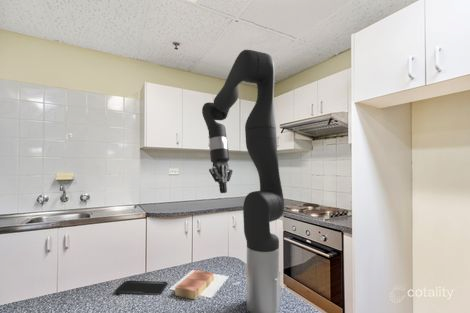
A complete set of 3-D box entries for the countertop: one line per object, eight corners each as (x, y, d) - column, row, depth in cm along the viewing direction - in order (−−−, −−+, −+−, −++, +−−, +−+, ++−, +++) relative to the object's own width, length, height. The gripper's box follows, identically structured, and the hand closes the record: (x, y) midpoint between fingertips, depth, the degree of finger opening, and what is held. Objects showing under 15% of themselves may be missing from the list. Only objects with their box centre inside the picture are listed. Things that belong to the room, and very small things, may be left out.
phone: (125, 280, 84) (168, 281, 83) (125, 283, 83) (168, 285, 83) (113, 292, 76) (160, 294, 75) (112, 296, 76) (160, 297, 75)
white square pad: (229, 277, 88) (229, 276, 88) (211, 299, 74) (211, 298, 74) (192, 271, 93) (192, 269, 93) (168, 290, 79) (168, 289, 79)
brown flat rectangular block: (213, 273, 85) (195, 291, 73) (213, 280, 85) (195, 299, 73) (195, 269, 87) (175, 287, 75) (195, 276, 87) (175, 295, 75)
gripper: (216, 145, 91) (221, 192, 87) (235, 149, 102) (240, 191, 98) (201, 149, 95) (205, 194, 91) (221, 153, 106) (225, 193, 102)
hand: (223, 192), depth 95 cm, fingers closed
